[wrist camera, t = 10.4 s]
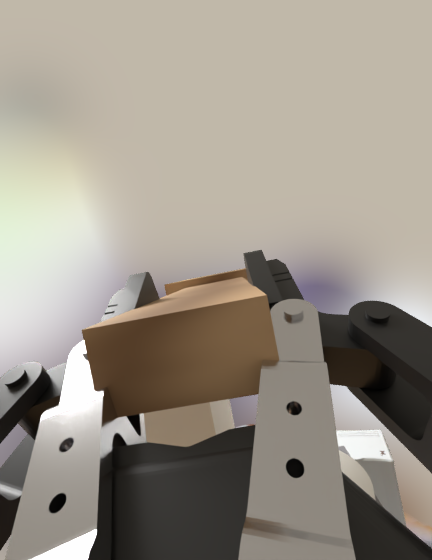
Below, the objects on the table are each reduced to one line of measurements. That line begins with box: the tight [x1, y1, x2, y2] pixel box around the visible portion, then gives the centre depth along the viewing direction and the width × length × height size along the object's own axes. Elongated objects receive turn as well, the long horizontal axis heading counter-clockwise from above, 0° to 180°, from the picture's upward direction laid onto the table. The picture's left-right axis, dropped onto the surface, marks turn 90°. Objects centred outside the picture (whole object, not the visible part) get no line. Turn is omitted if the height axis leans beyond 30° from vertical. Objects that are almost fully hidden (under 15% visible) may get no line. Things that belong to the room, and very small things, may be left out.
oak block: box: [82, 268, 279, 417], centre depth 17 cm, size 7×23×3 cm, turn 177°
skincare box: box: [336, 430, 406, 526], centre depth 36 cm, size 8×6×15 cm
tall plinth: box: [144, 399, 235, 447], centre depth 25 cm, size 9×14×32 cm, turn 178°
